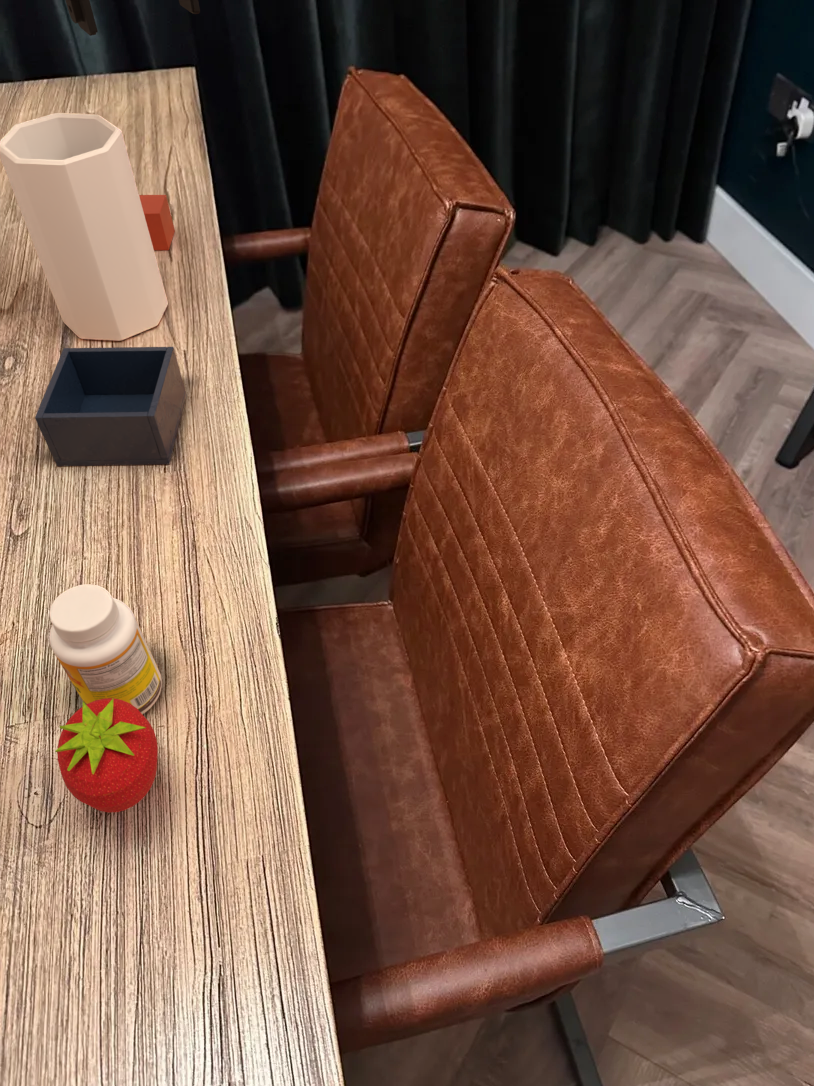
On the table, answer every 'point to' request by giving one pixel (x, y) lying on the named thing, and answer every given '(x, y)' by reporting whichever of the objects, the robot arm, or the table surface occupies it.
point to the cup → (86, 223)
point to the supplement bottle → (103, 648)
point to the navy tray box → (113, 406)
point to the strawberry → (108, 755)
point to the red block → (158, 220)
